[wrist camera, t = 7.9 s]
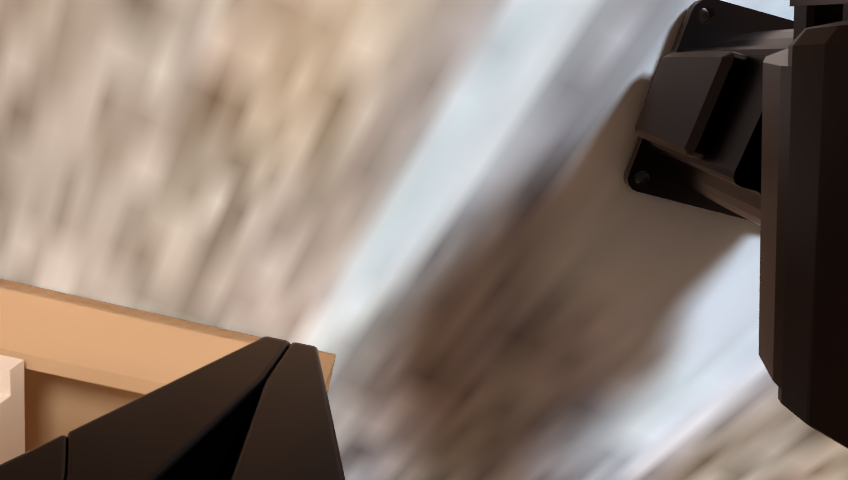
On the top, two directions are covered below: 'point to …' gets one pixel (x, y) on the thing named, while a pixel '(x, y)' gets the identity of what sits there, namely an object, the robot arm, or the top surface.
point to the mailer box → (99, 355)
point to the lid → (11, 408)
